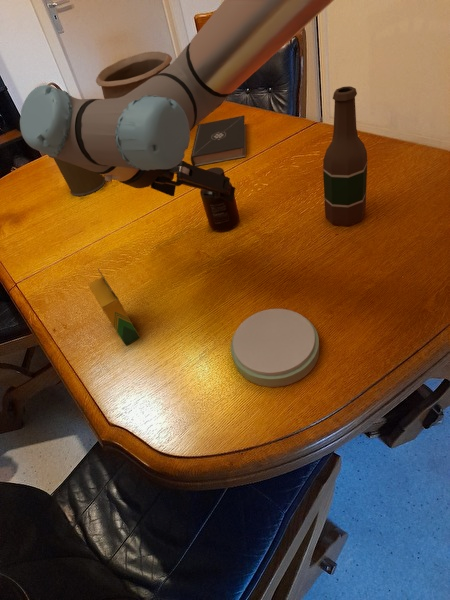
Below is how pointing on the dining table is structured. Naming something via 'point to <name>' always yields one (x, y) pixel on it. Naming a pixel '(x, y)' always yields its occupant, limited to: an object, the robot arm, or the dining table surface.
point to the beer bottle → (345, 164)
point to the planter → (131, 73)
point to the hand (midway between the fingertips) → (201, 192)
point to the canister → (80, 178)
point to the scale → (275, 347)
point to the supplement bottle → (219, 208)
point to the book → (219, 141)
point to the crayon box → (114, 310)
